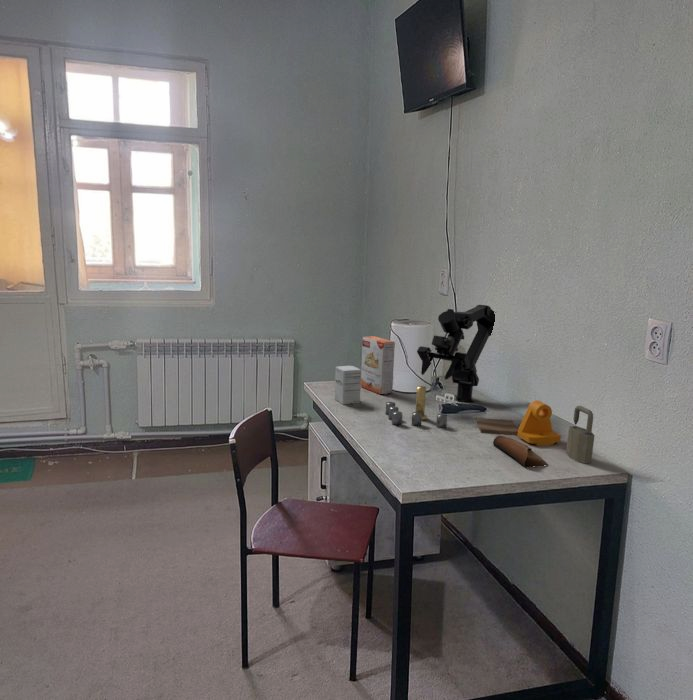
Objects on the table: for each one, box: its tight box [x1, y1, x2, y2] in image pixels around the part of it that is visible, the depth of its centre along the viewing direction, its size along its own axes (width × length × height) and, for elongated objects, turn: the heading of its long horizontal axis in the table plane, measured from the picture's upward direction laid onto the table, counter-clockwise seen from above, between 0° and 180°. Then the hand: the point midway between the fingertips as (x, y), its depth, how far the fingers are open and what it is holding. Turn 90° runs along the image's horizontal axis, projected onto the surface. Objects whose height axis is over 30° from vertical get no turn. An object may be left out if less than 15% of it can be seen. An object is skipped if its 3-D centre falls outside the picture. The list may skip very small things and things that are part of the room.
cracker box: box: [360, 335, 396, 395], centre depth 232 cm, size 14×6×21 cm, turn 33°
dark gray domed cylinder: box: [411, 411, 423, 428], centre depth 192 cm, size 3×3×4 cm
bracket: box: [517, 400, 562, 447], centre depth 180 cm, size 11×7×12 cm, turn 103°
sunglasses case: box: [492, 435, 549, 468], centre depth 168 cm, size 18×7×7 cm, turn 15°
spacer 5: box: [436, 413, 448, 429], centre depth 191 cm, size 3×3×4 cm
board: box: [475, 417, 519, 436], centre depth 193 cm, size 12×12×1 cm
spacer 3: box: [391, 410, 403, 427], centre depth 192 cm, size 3×3×4 cm
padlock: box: [565, 405, 595, 464], centre depth 167 cm, size 4×8×15 cm, turn 14°
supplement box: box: [334, 365, 362, 405], centre depth 216 cm, size 7×7×13 cm
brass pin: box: [415, 385, 428, 422], centre depth 199 cm, size 5×5×11 cm
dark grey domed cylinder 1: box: [385, 401, 396, 416], centre depth 203 cm, size 3×3×4 cm
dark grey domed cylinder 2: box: [388, 405, 399, 421], centre depth 198 cm, size 3×3×4 cm
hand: (433, 376), depth 203 cm, fingers open, 9 cm apart
